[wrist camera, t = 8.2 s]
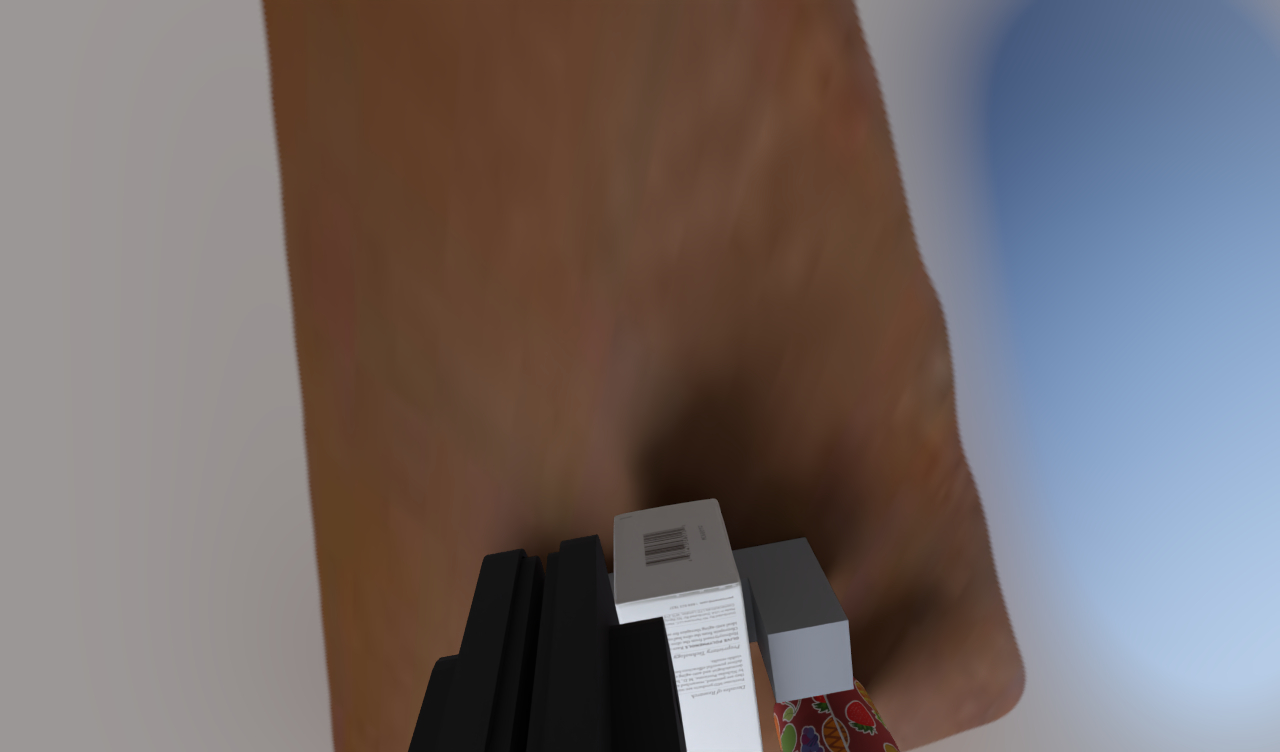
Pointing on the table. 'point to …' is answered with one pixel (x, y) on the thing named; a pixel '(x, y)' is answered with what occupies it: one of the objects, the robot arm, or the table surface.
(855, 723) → the smoothie
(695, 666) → the skincare box
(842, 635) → the u rest
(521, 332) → the table surface
